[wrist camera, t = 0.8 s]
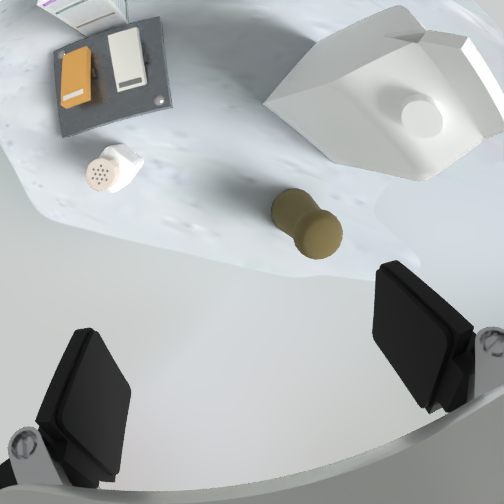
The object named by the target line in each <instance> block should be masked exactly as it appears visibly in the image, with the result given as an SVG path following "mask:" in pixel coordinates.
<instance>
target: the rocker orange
mask: <svg viewBox="0 0 504 504" xmlns="http://www.w3.org/2000/svg"><path fill="white" fill-rule="evenodd" d="M90 74H91V51H90V49H89V48H88V47H87V46H85V47H82V48H80V49H77V50H75V51H72V52H70V53H67V54H65V55H63V61H62V77H61V106H63V107H64V108H66V109H68V108H70V107H73V106H76V105H78V104H81V103H84V102H87V101H90V100H91V87H90Z"/></svg>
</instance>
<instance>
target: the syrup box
mask: <svg viewBox="0 0 504 504" xmlns="http://www.w3.org/2000/svg"><path fill="white" fill-rule="evenodd" d="M37 6H39V7H41V8H42V9H44V10H46V11H47V12H49V13H51V14H52V15H54V16H55V17H57V18H58V19H60V20H62V21H63V22H65V23H66V24H68V25H69V26H71V27H73V28H74V29H76V30H77V31H79V32H80V33H82V34H83V35H85V36H86V37H91V36H94V35H96V34H99V33H102V32H105V31H108V30H111V29H114V28H118V27H121V26H124V25H128V24H129V23H128V4H127V0H37Z"/></svg>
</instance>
